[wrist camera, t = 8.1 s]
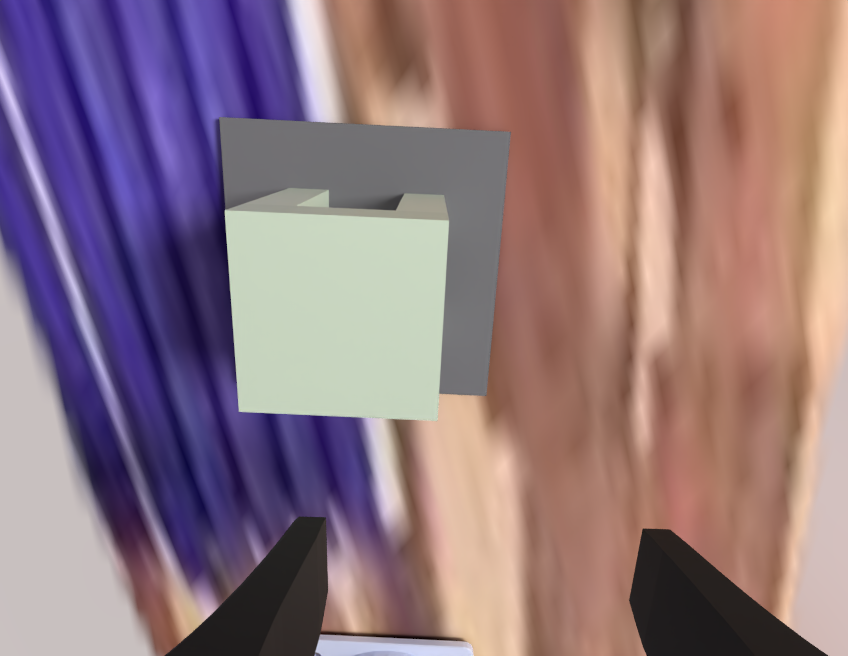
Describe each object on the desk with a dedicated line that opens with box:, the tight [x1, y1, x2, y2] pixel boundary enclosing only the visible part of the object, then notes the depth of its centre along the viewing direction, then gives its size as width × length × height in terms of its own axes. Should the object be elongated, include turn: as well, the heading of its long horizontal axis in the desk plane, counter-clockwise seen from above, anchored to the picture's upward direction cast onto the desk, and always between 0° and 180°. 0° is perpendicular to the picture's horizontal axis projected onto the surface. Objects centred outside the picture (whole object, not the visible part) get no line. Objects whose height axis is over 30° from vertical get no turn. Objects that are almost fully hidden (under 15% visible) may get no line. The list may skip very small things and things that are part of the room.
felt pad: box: [219, 117, 511, 396], centre depth 21 cm, size 10×10×1 cm
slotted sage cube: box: [225, 188, 449, 421], centre depth 18 cm, size 6×6×6 cm
